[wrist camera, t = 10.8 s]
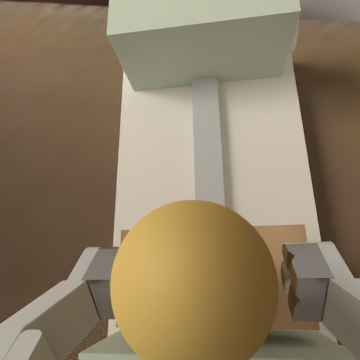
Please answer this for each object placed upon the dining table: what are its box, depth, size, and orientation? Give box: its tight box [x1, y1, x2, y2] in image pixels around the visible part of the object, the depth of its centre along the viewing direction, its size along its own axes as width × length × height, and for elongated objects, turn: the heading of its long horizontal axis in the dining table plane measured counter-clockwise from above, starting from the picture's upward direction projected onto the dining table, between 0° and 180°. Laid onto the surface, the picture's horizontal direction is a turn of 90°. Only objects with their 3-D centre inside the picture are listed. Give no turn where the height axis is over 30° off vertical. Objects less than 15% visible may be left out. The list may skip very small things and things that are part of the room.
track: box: [78, 0, 357, 360], centre depth 19 cm, size 14×24×8 cm, turn 1°
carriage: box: [110, 200, 320, 360], centre depth 12 cm, size 10×5×13 cm, turn 91°
